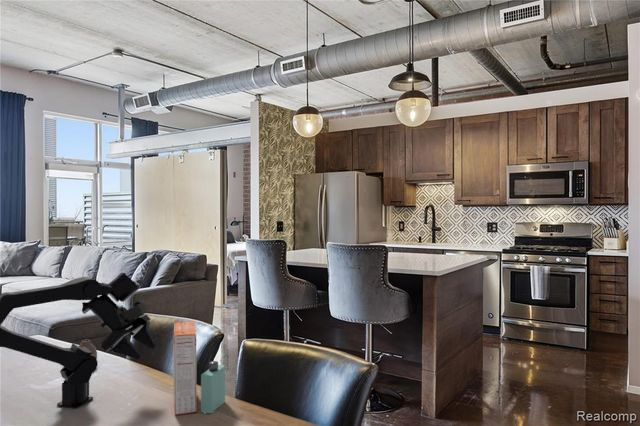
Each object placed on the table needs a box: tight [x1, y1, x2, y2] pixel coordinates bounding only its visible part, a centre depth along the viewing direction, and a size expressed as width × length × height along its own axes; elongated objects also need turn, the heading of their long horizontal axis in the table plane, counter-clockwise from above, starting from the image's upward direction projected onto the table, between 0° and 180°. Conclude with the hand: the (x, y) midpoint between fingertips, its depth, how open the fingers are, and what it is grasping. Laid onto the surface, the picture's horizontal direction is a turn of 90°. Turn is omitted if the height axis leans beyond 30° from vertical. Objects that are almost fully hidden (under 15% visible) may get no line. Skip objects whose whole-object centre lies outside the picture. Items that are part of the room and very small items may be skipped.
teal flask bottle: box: [200, 360, 226, 414], centre depth 126 cm, size 8×3×12 cm, turn 166°
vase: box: [78, 339, 98, 360], centre depth 157 cm, size 7×7×9 cm
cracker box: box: [172, 321, 198, 416], centre depth 128 cm, size 14×6×21 cm, turn 16°
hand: (148, 353), depth 132 cm, fingers open, 9 cm apart
